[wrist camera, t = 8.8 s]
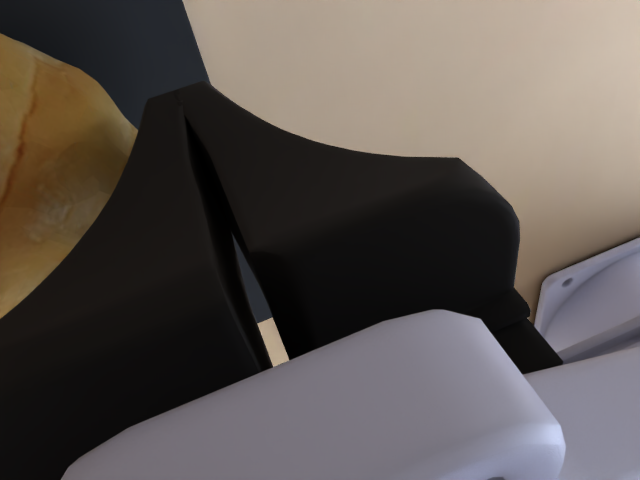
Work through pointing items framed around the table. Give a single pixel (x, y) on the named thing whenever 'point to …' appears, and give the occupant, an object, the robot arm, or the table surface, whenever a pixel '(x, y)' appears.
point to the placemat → (121, 58)
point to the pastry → (51, 163)
